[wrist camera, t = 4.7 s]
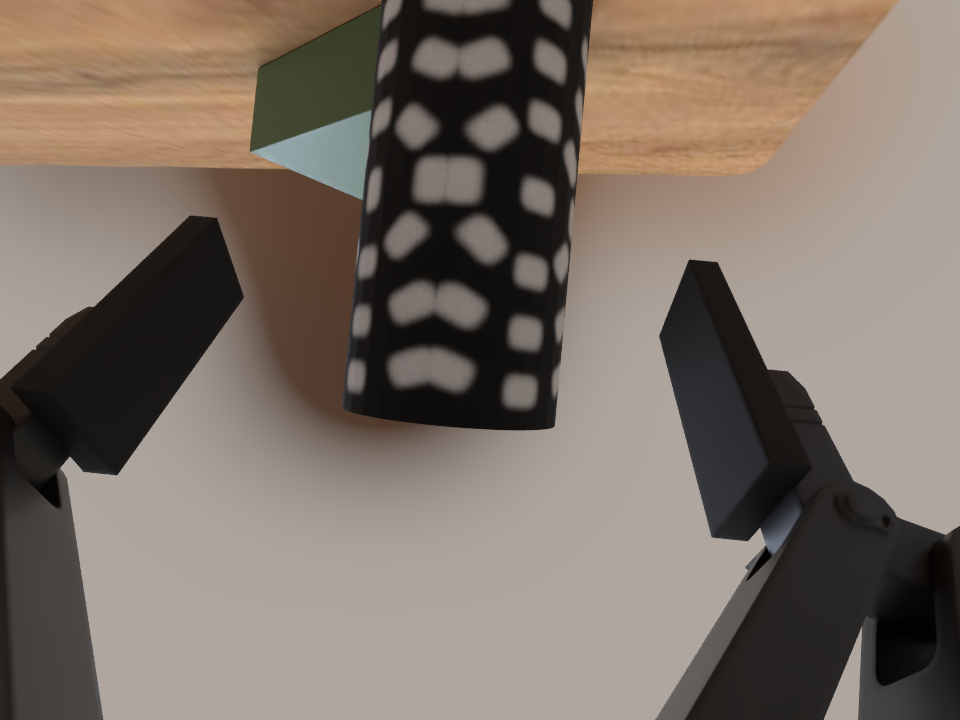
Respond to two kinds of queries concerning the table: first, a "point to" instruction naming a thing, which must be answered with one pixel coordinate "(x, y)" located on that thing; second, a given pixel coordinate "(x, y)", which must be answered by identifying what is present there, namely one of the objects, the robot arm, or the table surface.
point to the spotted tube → (468, 212)
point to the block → (321, 106)
